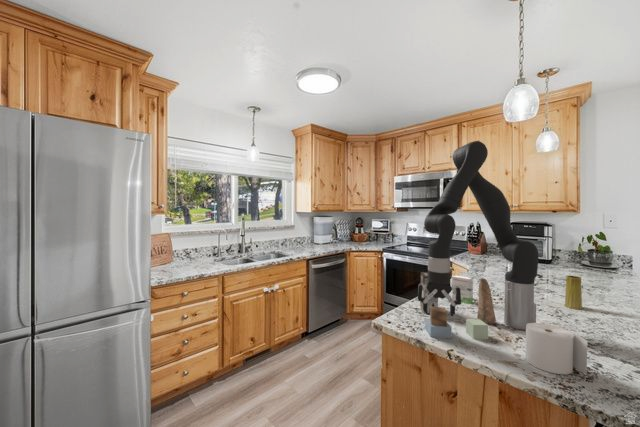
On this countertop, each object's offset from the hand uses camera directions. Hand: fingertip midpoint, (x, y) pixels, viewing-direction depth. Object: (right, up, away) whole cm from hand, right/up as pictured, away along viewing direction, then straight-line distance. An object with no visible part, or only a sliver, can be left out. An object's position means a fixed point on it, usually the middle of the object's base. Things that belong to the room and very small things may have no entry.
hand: (438, 314), depth 99 cm
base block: (0, -7, 0) cm, 7 cm away
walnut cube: (0, -3, 0) cm, 3 cm away
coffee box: (+6, -7, +23) cm, 25 cm away
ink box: (+28, -7, +37) cm, 46 cm away
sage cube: (+13, -7, -2) cm, 15 cm away
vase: (+75, -8, +29) cm, 81 cm away
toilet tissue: (+24, -8, -20) cm, 32 cm away
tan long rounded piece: (+24, -7, +11) cm, 27 cm away
